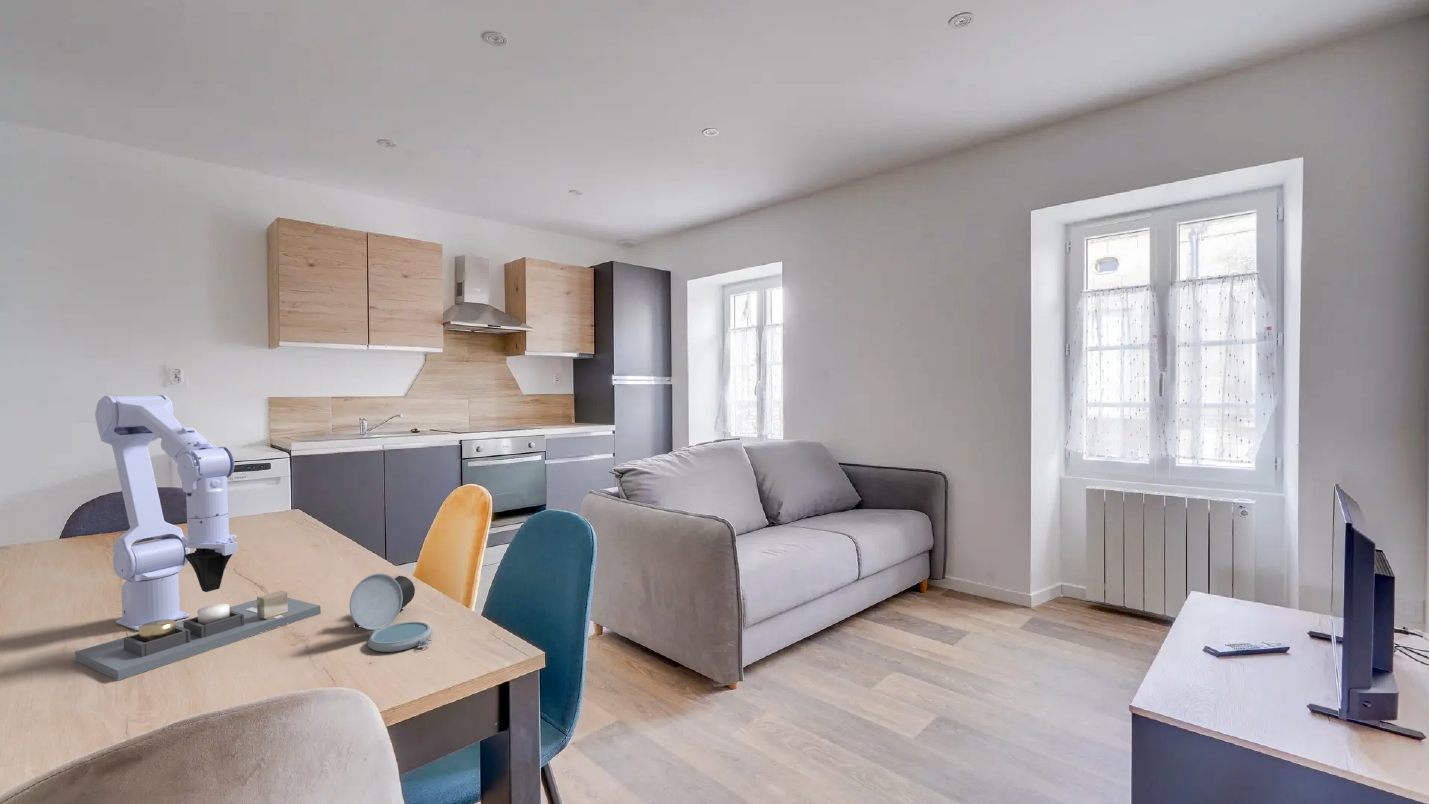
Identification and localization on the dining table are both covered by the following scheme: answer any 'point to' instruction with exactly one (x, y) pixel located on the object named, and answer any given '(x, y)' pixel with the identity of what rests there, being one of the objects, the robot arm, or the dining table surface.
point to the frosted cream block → (272, 604)
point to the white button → (213, 613)
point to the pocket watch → (385, 615)
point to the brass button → (156, 629)
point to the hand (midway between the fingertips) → (210, 590)
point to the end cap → (403, 591)
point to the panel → (186, 640)
